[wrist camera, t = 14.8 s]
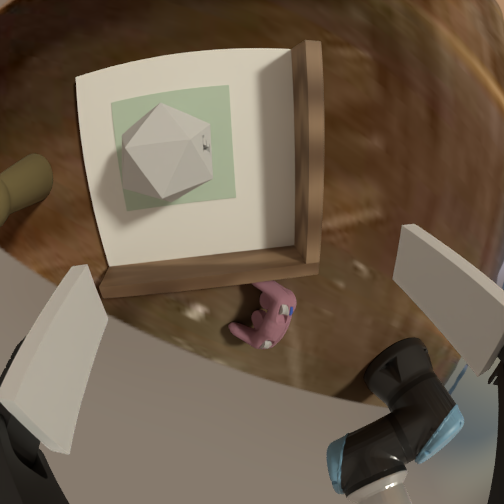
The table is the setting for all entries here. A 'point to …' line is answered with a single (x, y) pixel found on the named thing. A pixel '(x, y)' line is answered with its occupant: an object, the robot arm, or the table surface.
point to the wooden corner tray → (224, 169)
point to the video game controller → (268, 316)
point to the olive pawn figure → (24, 184)
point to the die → (166, 154)
